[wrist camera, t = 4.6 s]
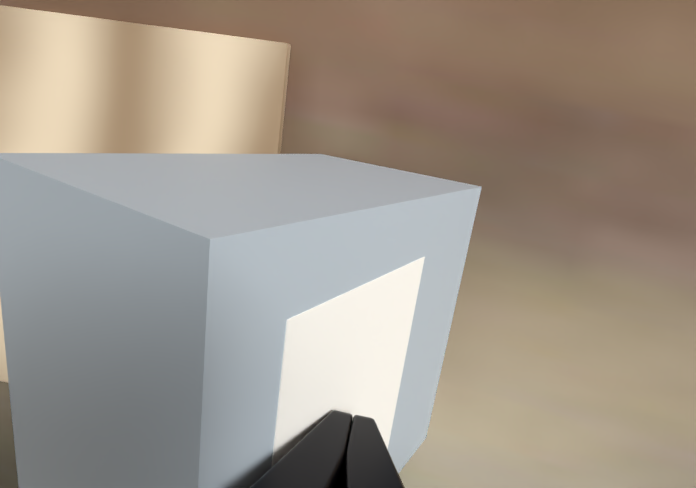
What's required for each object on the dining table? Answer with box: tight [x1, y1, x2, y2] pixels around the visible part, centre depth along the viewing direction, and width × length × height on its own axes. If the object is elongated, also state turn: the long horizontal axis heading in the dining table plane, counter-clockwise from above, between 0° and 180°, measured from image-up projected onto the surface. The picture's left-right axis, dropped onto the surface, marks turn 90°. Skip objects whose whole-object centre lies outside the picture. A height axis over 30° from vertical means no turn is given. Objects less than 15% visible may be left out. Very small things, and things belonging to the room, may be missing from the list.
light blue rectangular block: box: [0, 153, 481, 488], centre depth 12 cm, size 6×9×10 cm, turn 172°
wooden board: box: [0, 5, 291, 383], centre depth 18 cm, size 14×16×1 cm
